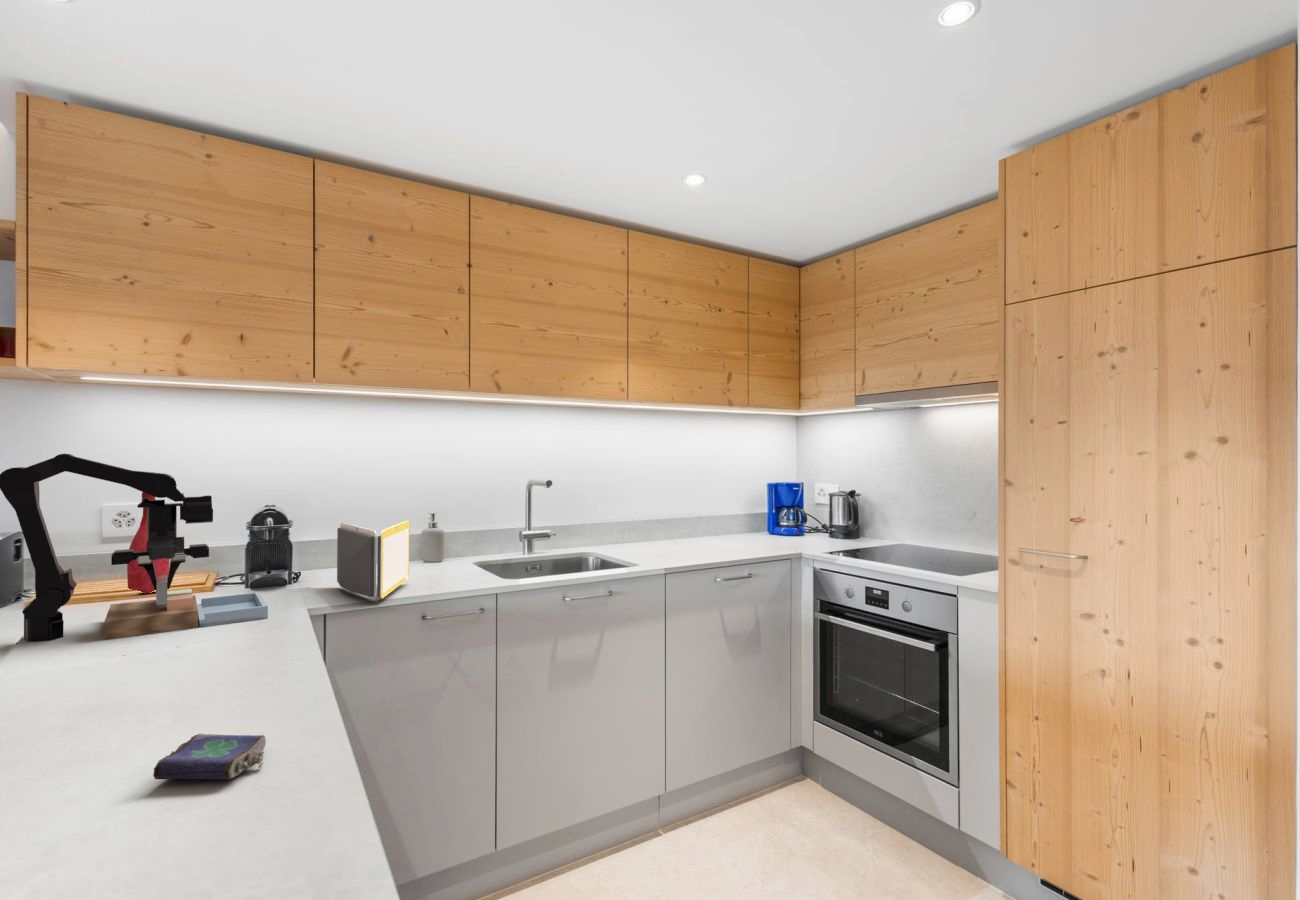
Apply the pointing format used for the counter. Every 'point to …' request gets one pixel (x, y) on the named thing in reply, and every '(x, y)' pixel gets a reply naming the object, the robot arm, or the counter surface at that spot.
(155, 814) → the counter surface
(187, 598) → the terracotta tile
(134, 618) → the wood-grain brown block
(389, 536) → the folding display board
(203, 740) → the navy flat block
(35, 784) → the counter surface
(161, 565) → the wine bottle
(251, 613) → the box
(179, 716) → the counter surface
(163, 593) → the grey rectangular bar
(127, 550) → the robot arm
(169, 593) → the sage tile
